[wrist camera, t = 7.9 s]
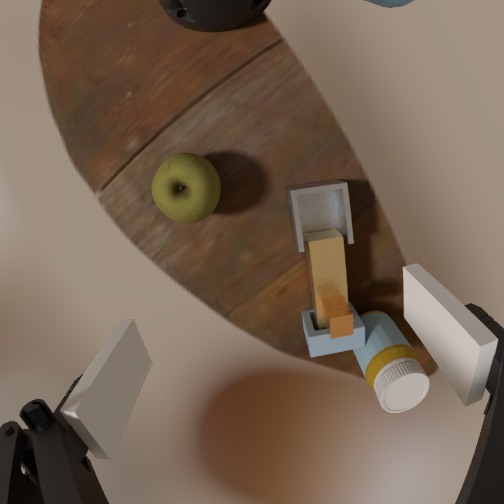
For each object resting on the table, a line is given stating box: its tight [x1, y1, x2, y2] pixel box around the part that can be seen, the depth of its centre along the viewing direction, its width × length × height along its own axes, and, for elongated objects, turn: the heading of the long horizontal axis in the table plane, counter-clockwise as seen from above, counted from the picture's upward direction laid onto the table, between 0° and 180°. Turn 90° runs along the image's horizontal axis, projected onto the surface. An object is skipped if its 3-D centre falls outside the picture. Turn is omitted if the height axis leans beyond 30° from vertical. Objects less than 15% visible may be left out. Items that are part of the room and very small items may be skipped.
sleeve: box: [286, 179, 354, 252], centre depth 37 cm, size 7×6×5 cm
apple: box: [152, 153, 221, 223], centre depth 36 cm, size 8×8×7 cm
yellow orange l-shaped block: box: [304, 229, 354, 339], centre depth 37 cm, size 13×4×9 cm, turn 10°
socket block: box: [302, 302, 365, 357], centre depth 41 cm, size 3×7×7 cm, turn 100°
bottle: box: [353, 310, 429, 413], centre depth 37 cm, size 7×7×15 cm
